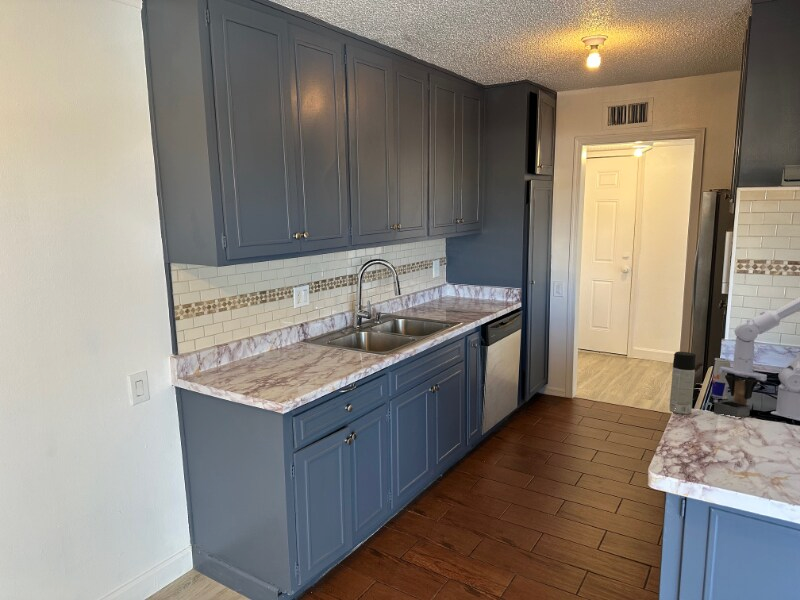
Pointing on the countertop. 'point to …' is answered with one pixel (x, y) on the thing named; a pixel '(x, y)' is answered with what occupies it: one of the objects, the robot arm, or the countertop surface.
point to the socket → (731, 408)
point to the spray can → (682, 382)
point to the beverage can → (720, 379)
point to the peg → (739, 392)
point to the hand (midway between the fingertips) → (740, 397)
